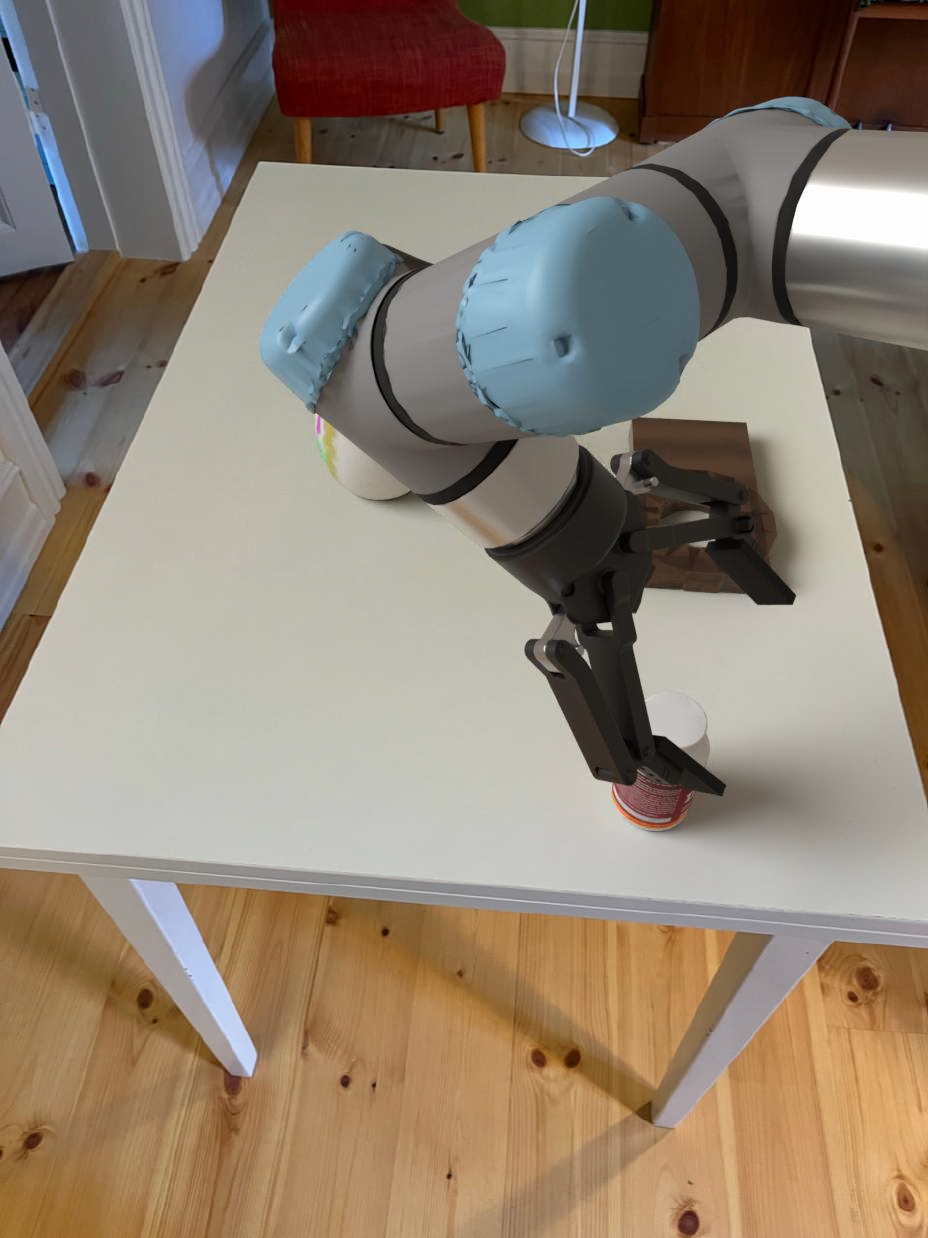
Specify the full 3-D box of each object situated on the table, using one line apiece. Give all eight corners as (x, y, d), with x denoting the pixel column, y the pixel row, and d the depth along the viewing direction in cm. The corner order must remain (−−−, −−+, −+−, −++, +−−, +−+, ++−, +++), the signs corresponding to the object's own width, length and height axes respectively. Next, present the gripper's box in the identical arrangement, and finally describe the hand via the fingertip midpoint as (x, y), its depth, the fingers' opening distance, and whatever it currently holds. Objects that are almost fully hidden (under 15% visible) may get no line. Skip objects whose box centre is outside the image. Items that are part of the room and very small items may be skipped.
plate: (778, 596, 86) (786, 578, 84) (623, 587, 86) (626, 569, 84) (751, 441, 100) (757, 422, 98) (618, 434, 100) (621, 415, 98)
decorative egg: (356, 424, 102) (341, 301, 90) (459, 452, 99) (457, 328, 87) (301, 495, 94) (278, 371, 83) (410, 528, 91) (402, 404, 80)
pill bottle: (692, 837, 70) (722, 762, 62) (610, 830, 71) (629, 754, 62) (687, 766, 74) (715, 686, 66) (609, 760, 75) (627, 679, 66)
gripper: (570, 330, 55) (756, 533, 66) (383, 700, 48) (627, 860, 58) (669, 296, 49) (854, 525, 60) (471, 713, 42) (725, 889, 52)
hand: (743, 690), depth 59 cm, fingers open, 13 cm apart
